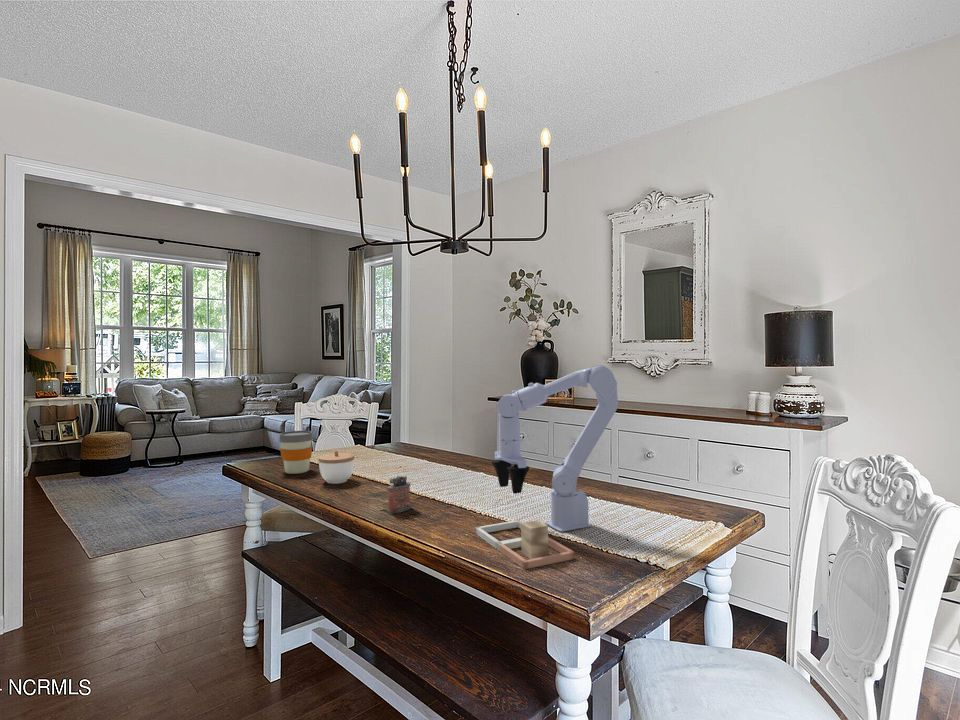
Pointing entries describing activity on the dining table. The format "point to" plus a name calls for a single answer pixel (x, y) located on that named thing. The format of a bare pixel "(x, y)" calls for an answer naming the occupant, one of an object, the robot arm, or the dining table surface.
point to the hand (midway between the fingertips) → (510, 489)
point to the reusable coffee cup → (296, 450)
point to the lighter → (398, 495)
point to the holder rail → (515, 543)
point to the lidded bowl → (336, 467)
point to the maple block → (534, 539)
